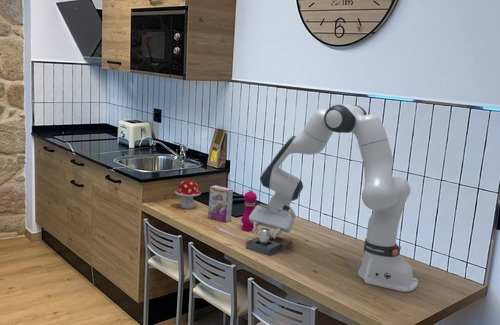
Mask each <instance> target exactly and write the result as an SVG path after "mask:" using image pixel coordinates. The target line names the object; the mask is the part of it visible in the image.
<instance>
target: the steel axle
mask: <svg viewBox="0 0 500 325" xmlns="http://www.w3.org/2000/svg"><path fill="white" fill-rule="evenodd" d="M269 234H270V228H268V227H261V228H260V229H259V245H262V246H268V243H269Z"/></svg>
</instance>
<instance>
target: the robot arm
mask: <svg viewBox="0 0 500 325" xmlns="http://www.w3.org/2000/svg"><path fill="white" fill-rule="evenodd" d="M333 133H337V134H339V133H341V134H342V133H345V134H350V133H352V134H353V135H354V136H355V137H356V140H357V144H358V147H359V151H360V155H361V160H362V164H363V170H364V186H363V190H362V193H361V199H362V202H363V204H364V205H365V207H367V208H368V209H370V210H372V211H373V212H372V213H371V215H370V217H369V218H368V221H367V230H366V238H365V239H364V243H363V256H362V261H361V263H360V267H359V270H358V272H357V275H358V276H359V278H361V279H362V280H363V281H364V283H366V284H368V285H372V286H377V287H380V288H386V289H389V290H394V291H399V292H402V293H403V292H404V293H409V292H413V291H415V289H417V288H418V285H419V280H418V279H417V278H416V277H413V276H414V275H413V268H412V265H411V264H410V263H409V262H408V261H407V260H406V259H405V258H404V257H403V256H402V255H401V250H402V246H399V245H398V244H397V237H398V236H397V235H398V231H399V230H398V229H399V224H400V220H401V217H402V214H403V211H404V209H405V205H406V202H407V200H408V198H409V197H410V194H411V186H410V184H409V182H408V181H407V179H405V178H404V177H399V176H393V172H392V171H393V169H392V168H393V162H394V156H393V153H392V149H391V145H390V141H389V137H388V134H387V132H386V129H385V127H384V124H383V122H382V120H381V118H380V117H379V116H378V115H375V114H368V113H367V111H366V110H365V109H364V108H363V107H361V106H360V105H357V104H350V103H342V104H334V105H332V106H330V107H329V108H328V109H326V108H318V109H317V110H315V111H314V112H313V114H312V115H311V116H310V118H309V120H308V121H307V123H306V125H305V126H304V128H303V130H302V131H301V132H300V133H299V134H297V135H292V136H291V137H290V138H289V139H287V141H286V142H285V144H284V145H282V147H281V148H280V150H279V151H278V152H277V153H276V155H275V156H274V158H273V159H272V160H271V162H270V163H269V164H268V165H267V166H266V167H265V168H264V169H263V170H262V172H261V174H260V178H259V180H260V183H261V185H262V187H265V188H267V189H270V190H271V191H273V192H274V194H273V196H271V198H270V200H269V201H268V204H267V205H266V204H265V205H262V204H260V203H259V204H260V205H257V206H256V207H255V209H254V210H253V211H252V213H251V214H250V216H249V220H250V221H251V222H252V223H254V229H253V231H252V233H254V234H258V233H259V229H258V227H259V226H263V227H264V228H268V229H273V230H276V231H275V232H272V233H271V237H272V238H274V239H275V238H276V236H279V235H280V234H282V232H284V233H290V232H292V230H293V226H294V224H295V219H296V218H297V215H296V213H295V210H294V209H293V208H292V207H291V203H292V202H293V201H295V200H298V199H299V197H300V194H301V192H302V191H303V189H304V185H303V181H302V179H300V178H299V177H297V176H295V175H293V174H291V173H289V172H287V171H285V170H283V169H281V168H280V167H281V165H282V164H283V163H284V161H285V160H286V159H287V158H288V157H289V155H291V154H301V155H302V154H303V155H311V156H312V155H318V154H319V153H321V152H322V151H324V149H325V147H326V145H327V144H328V143H329V140H330V139H331V136H332V135H333Z"/></svg>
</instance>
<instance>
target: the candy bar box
mask: <svg viewBox="0 0 500 325" xmlns="http://www.w3.org/2000/svg"><path fill="white" fill-rule="evenodd" d="M233 193H234V189H232V188H228V187H224V186H220V185H216V184H215V185H212V186H210V187H209V197H208V198H209V199H208V214H207V215H208V217H207V218H208V219H211V220H216V221H219V222H223V223H228V222H230V221H232V210H233V198H234V197H233V195H234V194H233Z"/></svg>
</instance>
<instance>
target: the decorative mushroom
mask: <svg viewBox="0 0 500 325" xmlns="http://www.w3.org/2000/svg"><path fill="white" fill-rule="evenodd" d="M174 193H175V195H176V196H181V197H182V198H181V199H180V201H179V205H180V208H182V209H187V210H191V209H193V208H194V207H195V206H196V203H195V200H194V198H193V197H198V196H200V195H201V194H202V192H201V190H200V188H199V185H198V184H197V182H195V181H194V180H191V179H185V180H182V181H181V182H180V183H178V186H177V188H176V189H175V191H174Z"/></svg>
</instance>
